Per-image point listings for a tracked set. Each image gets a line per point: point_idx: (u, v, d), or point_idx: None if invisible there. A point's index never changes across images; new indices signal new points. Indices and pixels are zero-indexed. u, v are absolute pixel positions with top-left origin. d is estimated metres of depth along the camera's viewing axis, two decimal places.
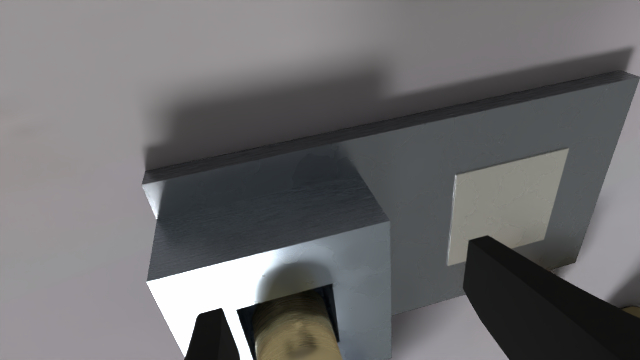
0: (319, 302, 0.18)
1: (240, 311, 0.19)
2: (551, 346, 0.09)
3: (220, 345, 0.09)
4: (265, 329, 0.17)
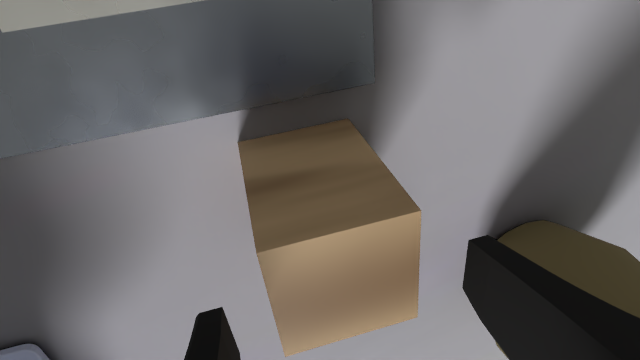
0: None
1: None
2: (551, 346, 0.09)
3: (220, 345, 0.09)
4: None
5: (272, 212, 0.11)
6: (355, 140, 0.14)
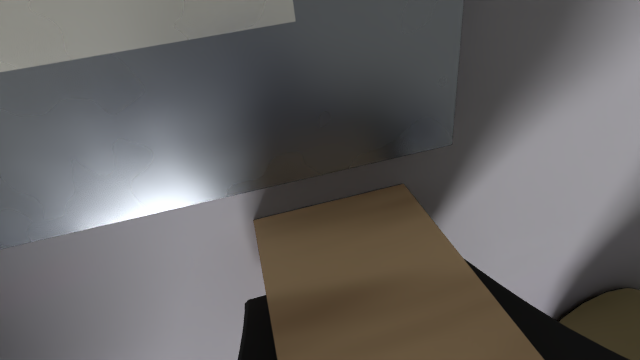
0: None
1: None
2: None
3: None
4: None
5: None
6: (422, 225, 0.10)
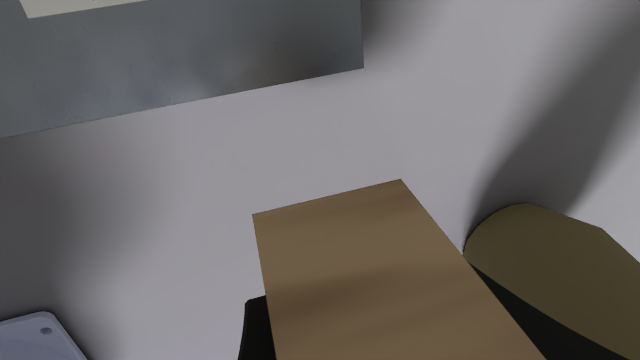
0: None
1: None
2: None
3: None
4: None
5: None
6: (419, 219, 0.10)
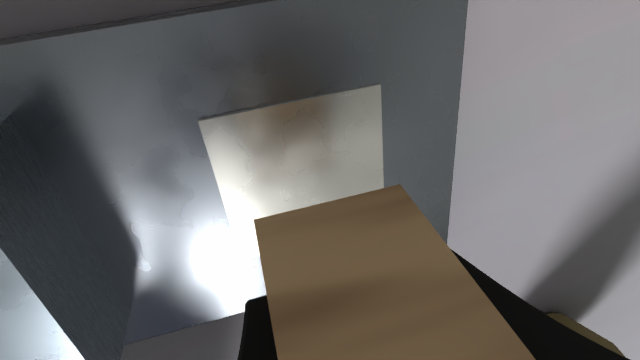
0: None
1: None
2: None
3: None
4: None
5: None
6: (418, 225, 0.10)
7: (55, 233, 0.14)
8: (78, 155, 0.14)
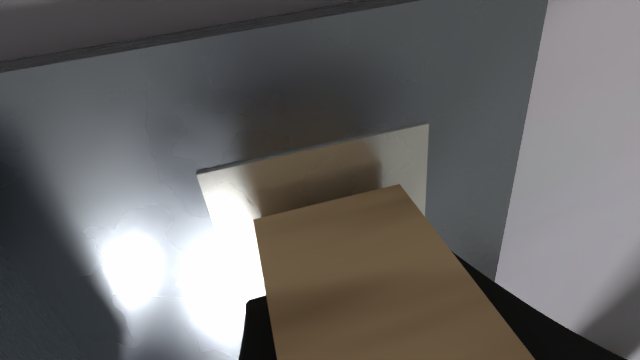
0: None
1: None
2: None
3: None
4: None
5: None
6: (417, 225, 0.10)
7: (9, 325, 0.10)
8: (40, 221, 0.11)
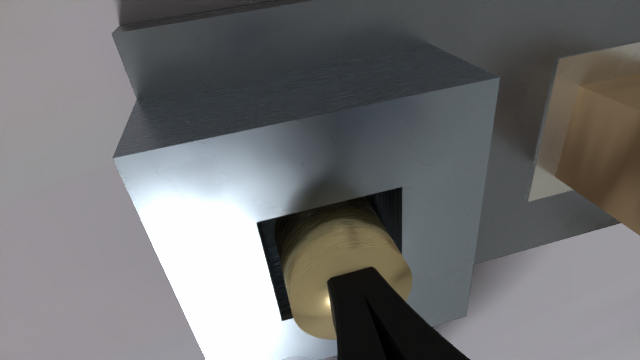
0: (369, 205, 0.13)
1: (261, 236, 0.13)
2: None
3: (366, 303, 0.09)
4: (296, 233, 0.12)
5: None
6: None
7: None
8: None
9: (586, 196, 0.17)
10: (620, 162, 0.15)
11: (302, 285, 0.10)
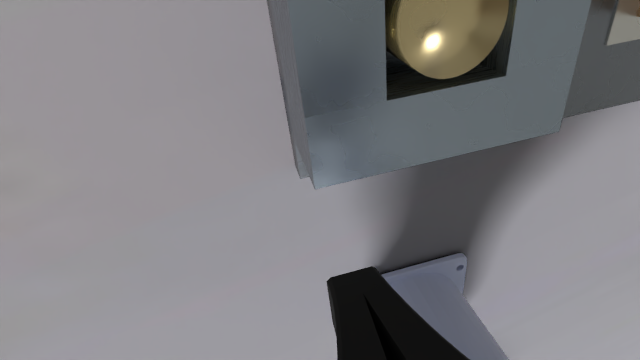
0: None
1: None
2: None
3: (366, 304, 0.09)
4: None
5: None
6: None
7: None
8: None
9: None
10: None
11: None
